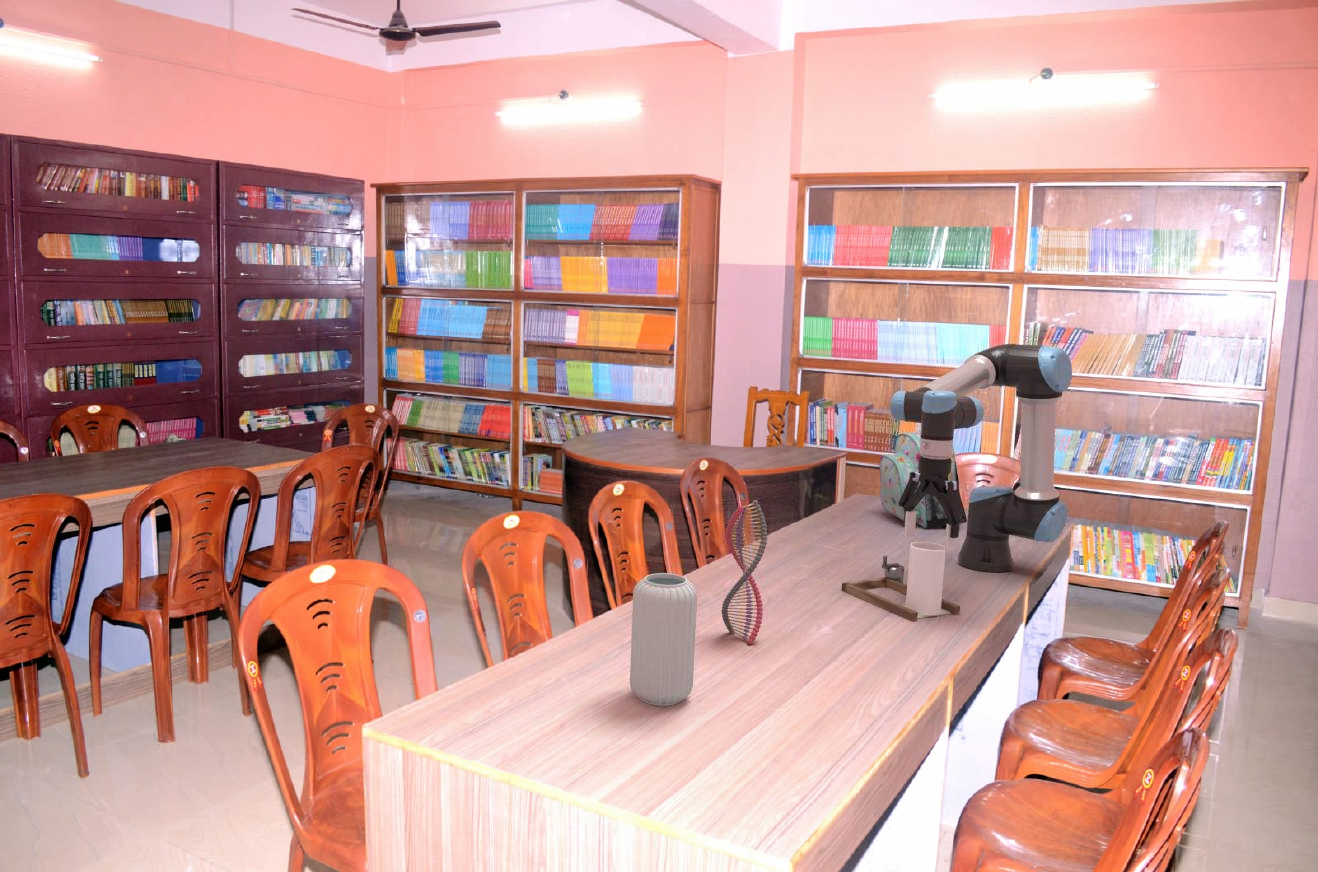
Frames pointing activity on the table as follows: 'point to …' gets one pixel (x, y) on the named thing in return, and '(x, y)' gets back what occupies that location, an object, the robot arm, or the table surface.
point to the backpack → (897, 477)
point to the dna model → (745, 571)
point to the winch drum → (893, 571)
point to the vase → (663, 639)
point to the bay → (859, 591)
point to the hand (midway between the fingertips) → (929, 543)
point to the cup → (925, 578)
